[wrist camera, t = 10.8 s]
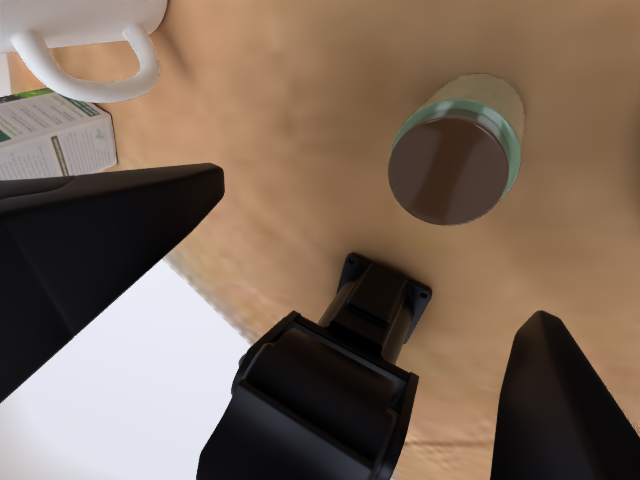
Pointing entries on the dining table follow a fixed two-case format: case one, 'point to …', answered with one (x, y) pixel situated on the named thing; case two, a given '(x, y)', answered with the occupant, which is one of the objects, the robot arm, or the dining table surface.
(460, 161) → the spice jar
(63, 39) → the cup
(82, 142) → the syrup box
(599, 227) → the dining table surface
